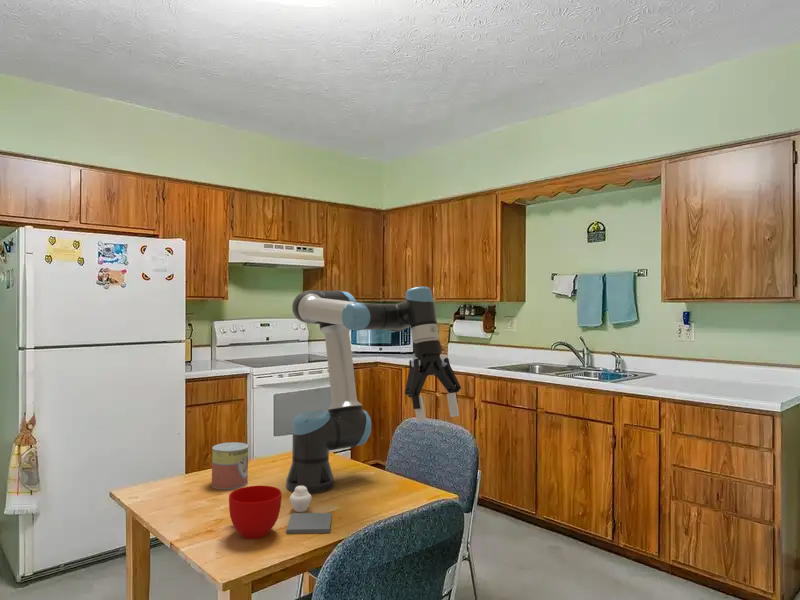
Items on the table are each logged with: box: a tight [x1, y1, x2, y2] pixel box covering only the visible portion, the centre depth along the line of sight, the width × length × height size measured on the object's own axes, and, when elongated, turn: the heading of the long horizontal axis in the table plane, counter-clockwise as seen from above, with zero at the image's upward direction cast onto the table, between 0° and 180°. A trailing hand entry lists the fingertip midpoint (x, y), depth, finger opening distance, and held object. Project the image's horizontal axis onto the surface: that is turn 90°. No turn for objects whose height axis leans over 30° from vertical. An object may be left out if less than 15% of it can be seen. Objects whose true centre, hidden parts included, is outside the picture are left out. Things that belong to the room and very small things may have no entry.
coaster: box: [285, 512, 333, 535], centre depth 144 cm, size 11×11×1 cm
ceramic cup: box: [228, 485, 282, 540], centre depth 140 cm, size 13×17×10 cm
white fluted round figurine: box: [289, 486, 312, 513], centre depth 155 cm, size 6×6×7 cm
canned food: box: [210, 441, 249, 490], centre depth 176 cm, size 11×11×12 cm
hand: (438, 419), depth 147 cm, fingers open, 13 cm apart
